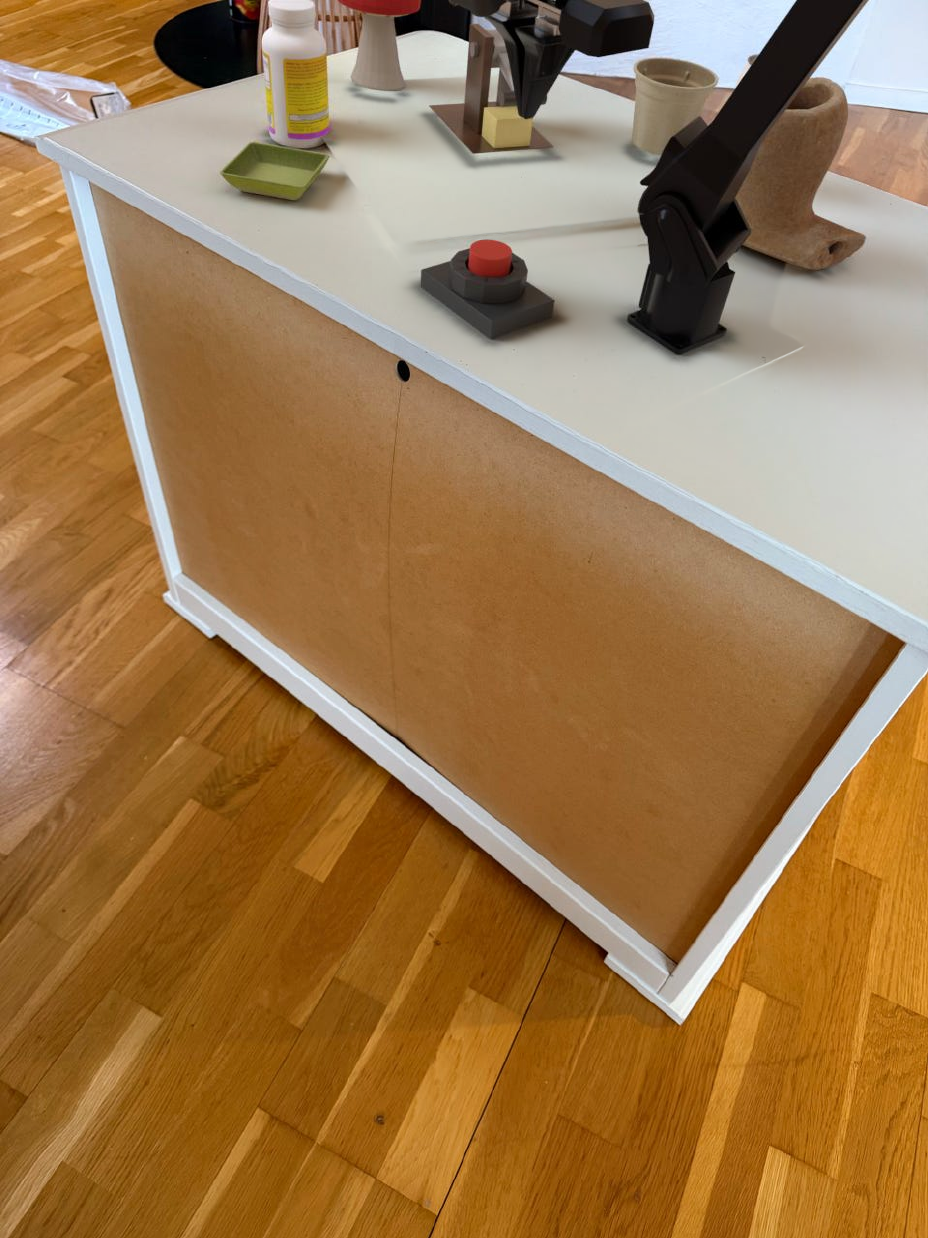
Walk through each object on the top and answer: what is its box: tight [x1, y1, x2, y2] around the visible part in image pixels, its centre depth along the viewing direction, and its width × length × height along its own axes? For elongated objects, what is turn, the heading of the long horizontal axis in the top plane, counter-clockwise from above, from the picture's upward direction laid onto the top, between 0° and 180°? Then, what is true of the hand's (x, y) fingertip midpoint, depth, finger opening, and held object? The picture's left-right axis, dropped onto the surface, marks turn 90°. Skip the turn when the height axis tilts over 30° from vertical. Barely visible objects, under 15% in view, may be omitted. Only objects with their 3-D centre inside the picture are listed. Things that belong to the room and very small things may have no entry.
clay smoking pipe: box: [735, 76, 867, 271], centre depth 85 cm, size 15×12×15 cm
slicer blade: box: [485, 29, 548, 107], centre depth 96 cm, size 10×5×2 cm, turn 22°
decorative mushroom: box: [337, 0, 422, 92], centre depth 104 cm, size 10×9×15 cm
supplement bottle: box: [261, 0, 330, 150], centre depth 94 cm, size 7×7×13 cm
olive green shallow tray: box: [219, 141, 331, 201], centre depth 90 cm, size 9×9×2 cm
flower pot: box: [631, 56, 719, 156], centre depth 101 cm, size 9×9×9 cm
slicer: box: [428, 23, 555, 155], centre depth 100 cm, size 14×10×11 cm
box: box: [420, 247, 556, 340], centre depth 77 cm, size 10×7×4 cm
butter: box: [482, 106, 534, 149], centre depth 99 cm, size 4×4×3 cm
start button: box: [468, 239, 513, 278], centre depth 76 cm, size 4×4×2 cm
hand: (526, 117), depth 74 cm, fingers closed
